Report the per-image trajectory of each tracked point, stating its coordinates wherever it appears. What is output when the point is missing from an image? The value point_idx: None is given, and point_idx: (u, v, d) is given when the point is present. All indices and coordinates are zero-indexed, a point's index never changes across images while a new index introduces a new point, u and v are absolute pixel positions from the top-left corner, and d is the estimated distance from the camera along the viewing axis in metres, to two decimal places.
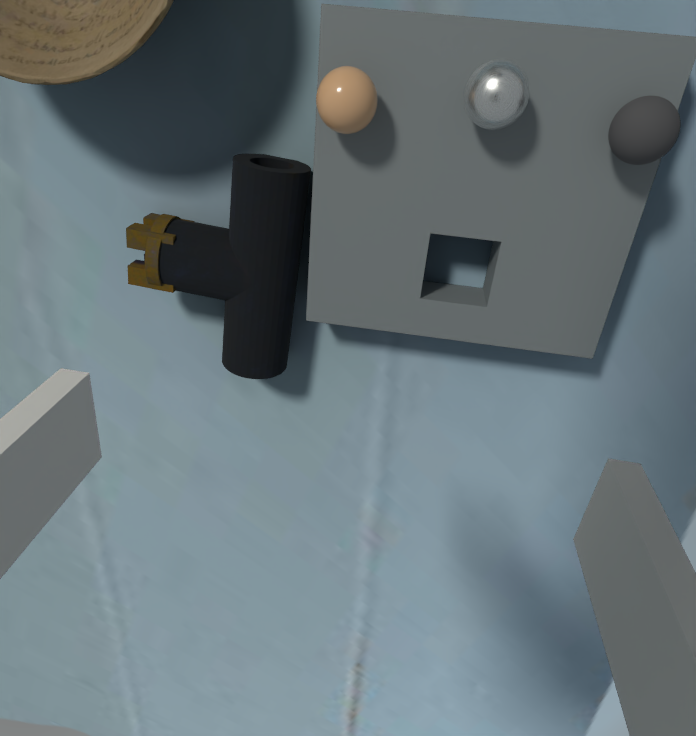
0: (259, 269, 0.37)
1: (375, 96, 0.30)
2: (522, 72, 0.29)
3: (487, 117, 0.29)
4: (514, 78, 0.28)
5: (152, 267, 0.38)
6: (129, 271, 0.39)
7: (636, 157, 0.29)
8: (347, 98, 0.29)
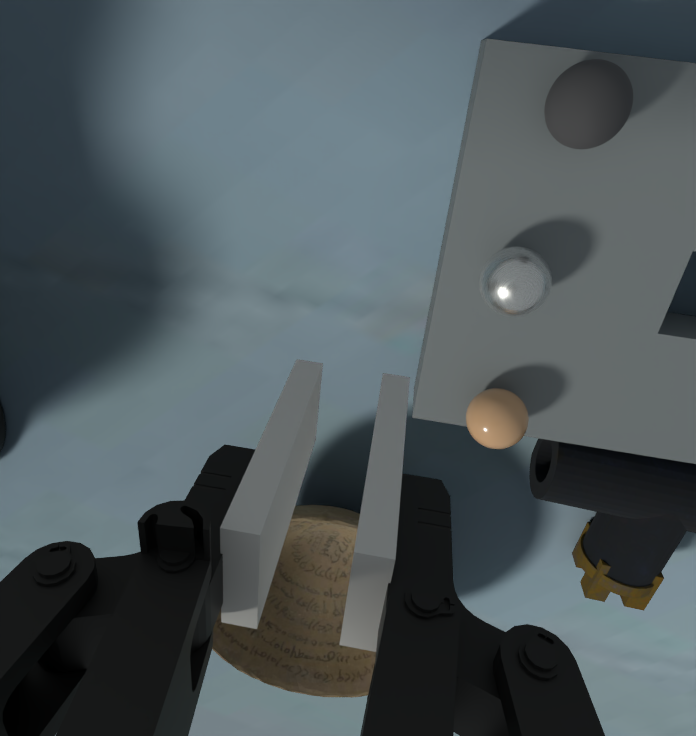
0: (658, 503, 0.33)
1: (497, 397, 0.30)
2: (496, 262, 0.26)
3: (538, 301, 0.26)
4: (502, 276, 0.26)
5: (631, 591, 0.37)
6: (630, 606, 0.38)
7: (621, 120, 0.22)
8: (496, 432, 0.30)
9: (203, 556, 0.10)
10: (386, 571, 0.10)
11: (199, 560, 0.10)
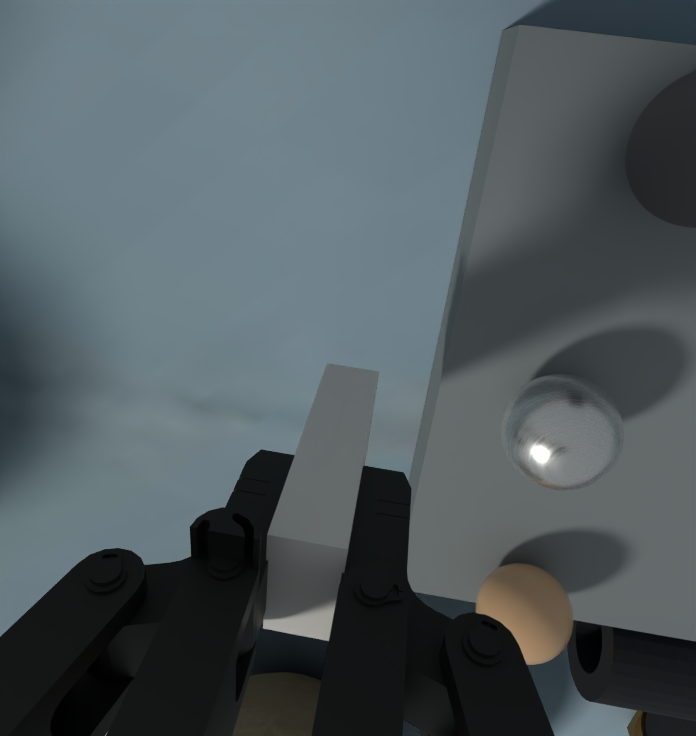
0: None
1: (526, 590, 0.19)
2: (532, 407, 0.15)
3: (602, 475, 0.15)
4: (543, 436, 0.15)
5: None
6: None
7: None
8: (526, 649, 0.19)
9: (252, 565, 0.10)
10: (339, 561, 0.10)
11: (248, 569, 0.10)
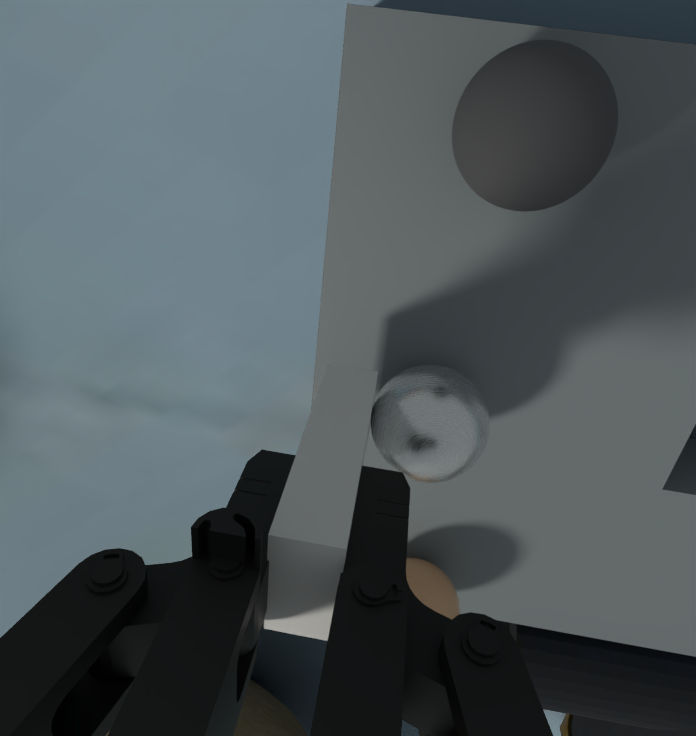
0: (671, 715, 0.22)
1: None
2: (394, 400, 0.15)
3: (467, 465, 0.15)
4: (404, 429, 0.15)
5: None
6: None
7: (595, 162, 0.11)
8: None
9: (253, 565, 0.10)
10: (338, 561, 0.10)
11: (249, 569, 0.10)
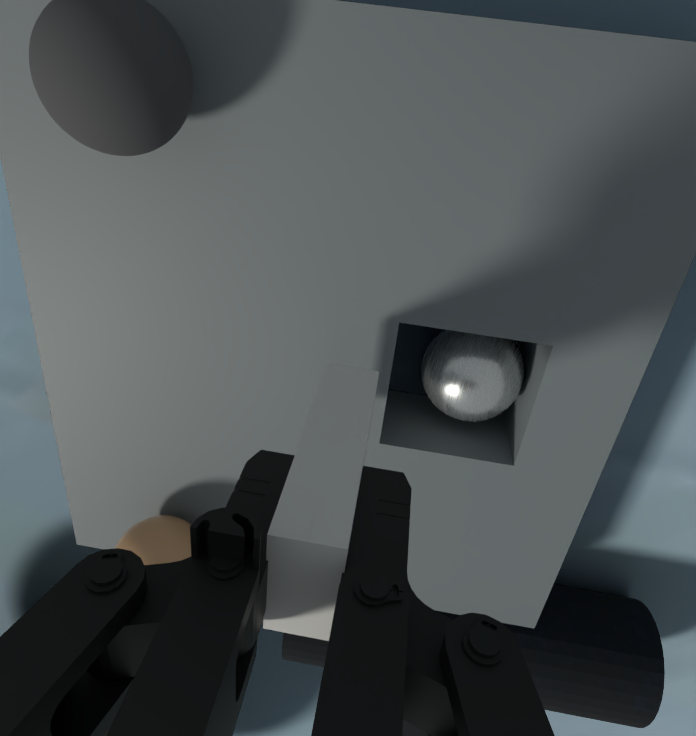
0: None
1: (141, 538, 0.19)
2: (488, 364, 0.17)
3: None
4: (509, 378, 0.18)
5: None
6: None
7: (144, 102, 0.12)
8: None
9: (252, 565, 0.10)
10: (339, 561, 0.10)
11: (248, 569, 0.10)
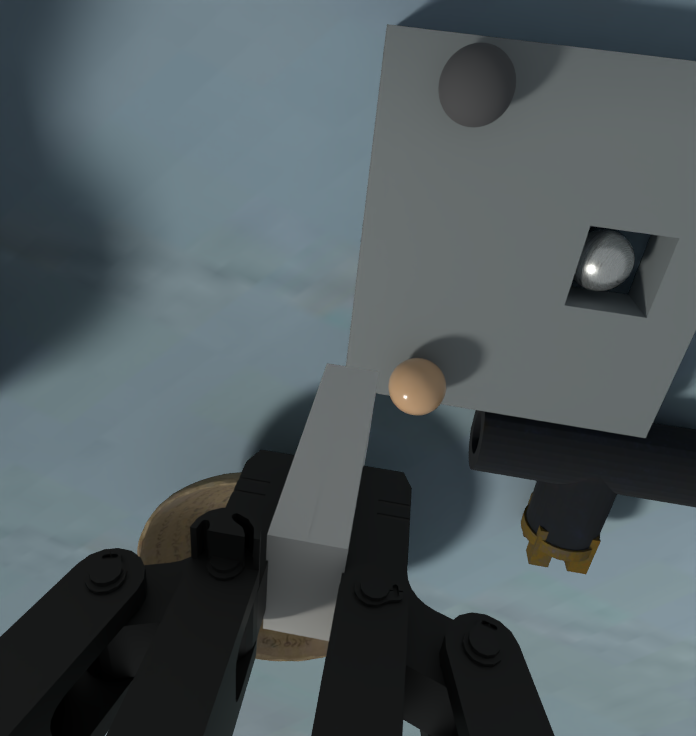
0: (581, 467, 0.35)
1: (414, 365, 0.32)
2: (602, 247, 0.30)
3: None
4: (613, 259, 0.30)
5: (569, 555, 0.38)
6: (572, 570, 0.39)
7: (504, 99, 0.24)
8: (413, 397, 0.32)
9: (252, 565, 0.10)
10: (339, 561, 0.10)
11: (248, 569, 0.10)
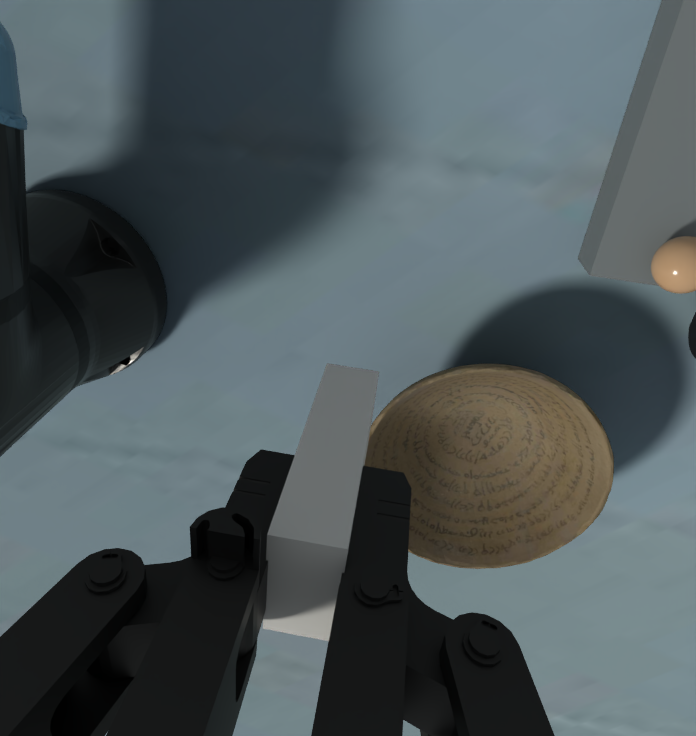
0: None
1: (690, 240, 0.32)
2: None
3: None
4: None
5: None
6: None
7: None
8: (691, 270, 0.32)
9: (252, 565, 0.10)
10: (339, 561, 0.10)
11: (248, 569, 0.10)
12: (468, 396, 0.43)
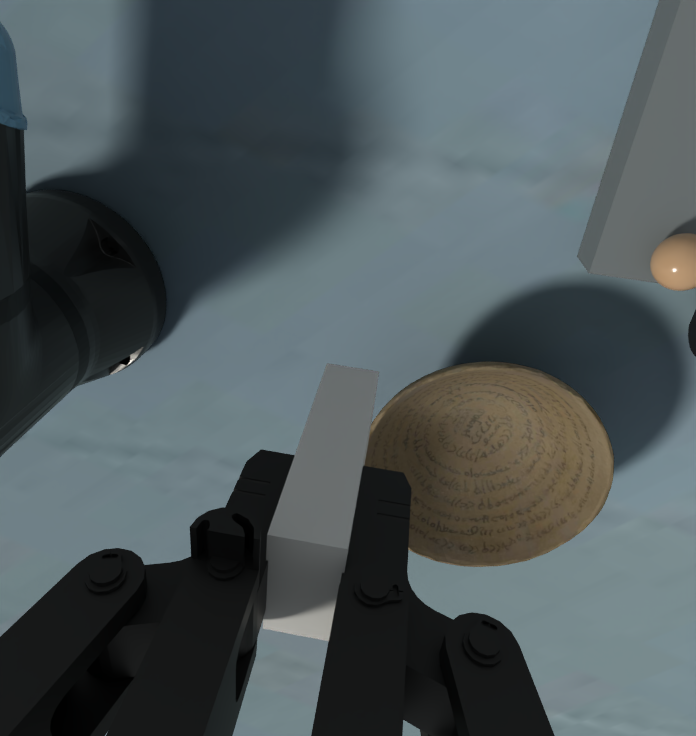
0: None
1: (689, 237, 0.32)
2: None
3: None
4: None
5: None
6: None
7: None
8: (691, 267, 0.32)
9: (252, 565, 0.10)
10: (339, 561, 0.10)
11: (248, 569, 0.10)
12: (467, 394, 0.43)
